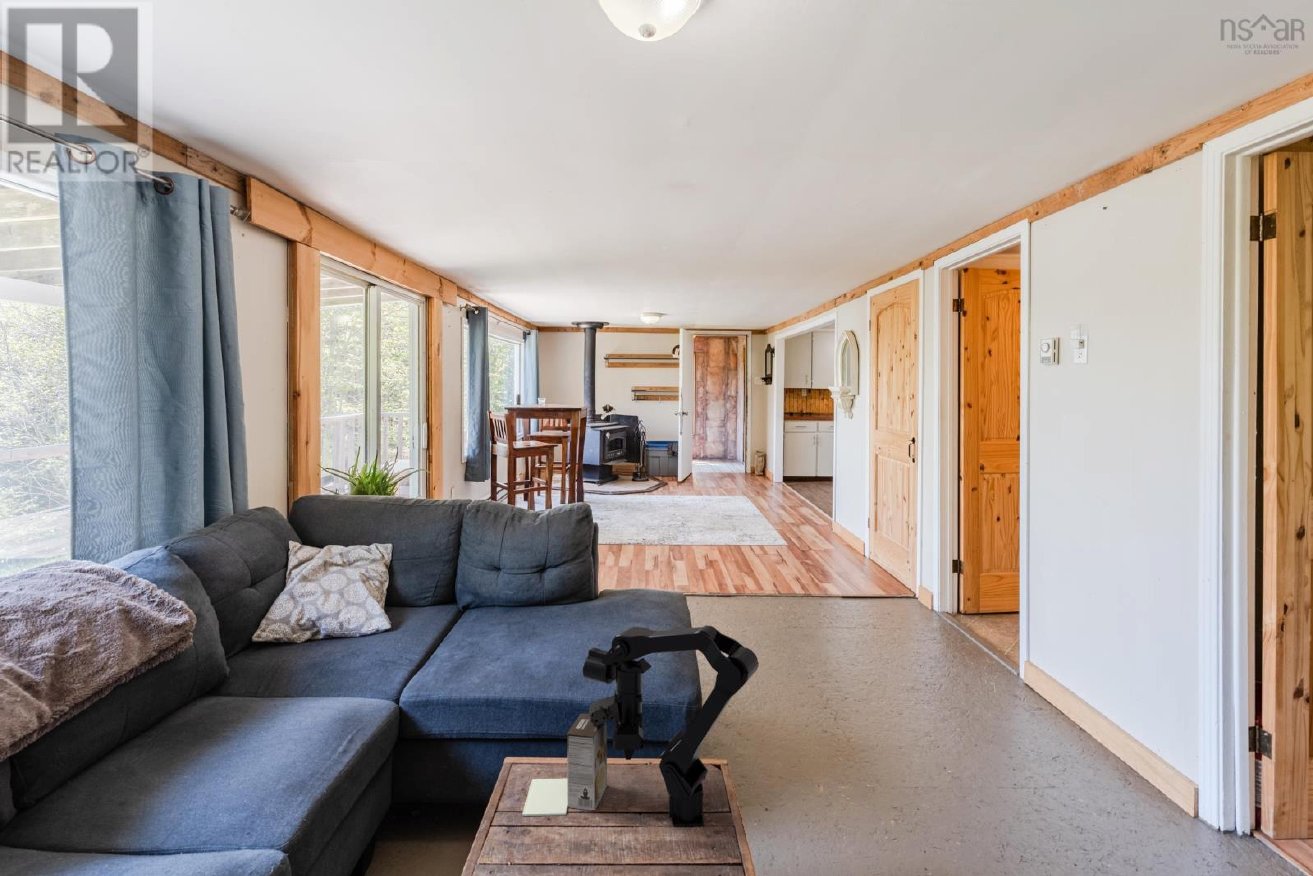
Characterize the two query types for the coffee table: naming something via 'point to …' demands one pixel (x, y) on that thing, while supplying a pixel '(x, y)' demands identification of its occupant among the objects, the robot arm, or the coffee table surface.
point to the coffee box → (586, 763)
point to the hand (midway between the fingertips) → (628, 759)
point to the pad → (546, 798)
